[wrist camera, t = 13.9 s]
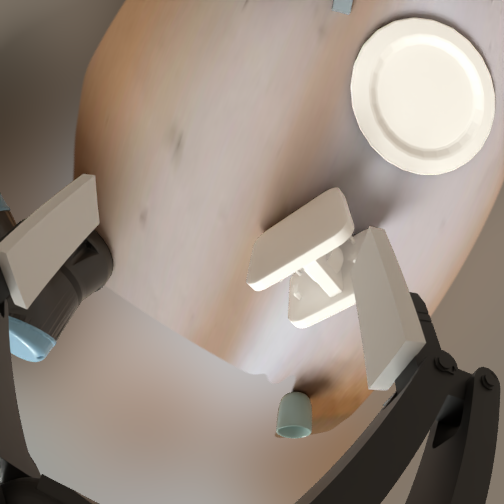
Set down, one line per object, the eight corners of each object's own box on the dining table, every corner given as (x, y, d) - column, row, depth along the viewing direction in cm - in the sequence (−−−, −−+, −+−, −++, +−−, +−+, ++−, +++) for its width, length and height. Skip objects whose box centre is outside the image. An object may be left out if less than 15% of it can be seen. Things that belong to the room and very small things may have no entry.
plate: (411, 199, 40) (415, 205, 39) (312, 82, 33) (313, 83, 32) (510, 118, 30) (517, 121, 28) (428, -9, 23) (433, -11, 22)
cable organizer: (341, 176, 39) (356, 219, 30) (380, 233, 43) (399, 285, 34) (254, 235, 46) (242, 288, 37) (297, 281, 50) (296, 337, 41)
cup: (297, 384, 67) (295, 422, 59) (318, 396, 69) (318, 432, 61) (272, 394, 71) (269, 431, 63) (294, 406, 73) (292, 440, 65)
